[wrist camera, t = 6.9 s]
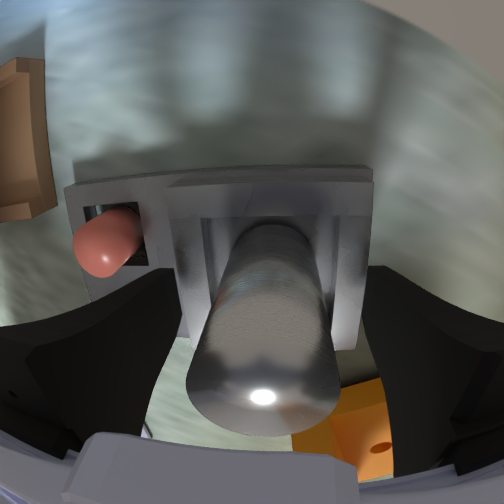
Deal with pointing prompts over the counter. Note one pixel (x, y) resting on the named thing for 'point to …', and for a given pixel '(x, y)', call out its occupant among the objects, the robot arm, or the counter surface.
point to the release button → (108, 241)
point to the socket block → (240, 230)
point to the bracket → (354, 431)
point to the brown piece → (24, 142)
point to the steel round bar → (266, 340)
